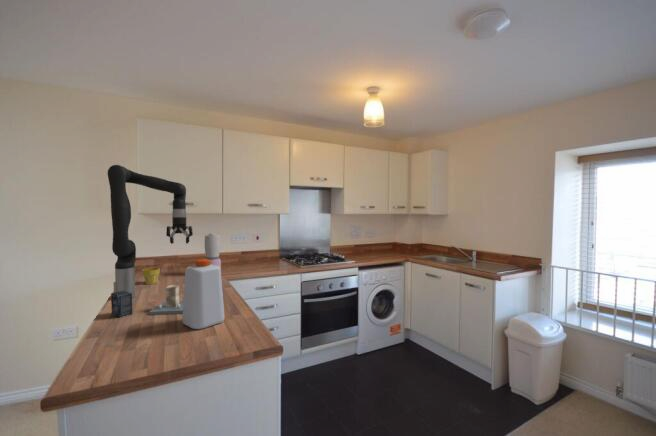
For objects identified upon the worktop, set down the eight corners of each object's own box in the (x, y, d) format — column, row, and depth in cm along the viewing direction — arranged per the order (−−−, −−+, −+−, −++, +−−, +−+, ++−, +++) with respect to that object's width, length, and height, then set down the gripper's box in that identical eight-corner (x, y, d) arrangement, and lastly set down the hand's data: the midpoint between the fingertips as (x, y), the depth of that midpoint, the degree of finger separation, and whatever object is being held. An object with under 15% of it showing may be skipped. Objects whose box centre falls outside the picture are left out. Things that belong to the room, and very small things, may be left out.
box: (111, 315, 143) (110, 293, 143) (124, 311, 148) (123, 290, 148) (119, 318, 140) (119, 295, 139) (132, 314, 144) (132, 292, 144)
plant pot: (139, 284, 204) (138, 269, 203) (154, 280, 213) (153, 267, 213) (148, 285, 199) (148, 271, 199) (163, 282, 208) (163, 268, 208)
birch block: (166, 307, 150) (166, 287, 150) (170, 304, 154) (169, 285, 154) (175, 307, 151) (175, 287, 150) (179, 304, 155) (178, 285, 155)
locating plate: (148, 314, 144) (148, 307, 143) (163, 304, 159) (163, 297, 159) (183, 313, 145) (183, 306, 145) (194, 303, 161) (194, 296, 161)
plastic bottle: (210, 314, 145) (210, 256, 144) (228, 321, 135) (227, 259, 134) (178, 323, 133) (177, 260, 132) (195, 332, 123) (194, 264, 123)
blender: (216, 276, 226) (216, 234, 225) (201, 276, 227) (200, 234, 227) (225, 272, 242) (225, 232, 241) (211, 271, 243) (210, 232, 242)
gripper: (164, 216, 176) (164, 244, 176) (189, 216, 177) (190, 244, 178) (169, 216, 183) (169, 242, 183) (193, 216, 185) (194, 242, 185)
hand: (179, 243), depth 181 cm, fingers open, 8 cm apart
